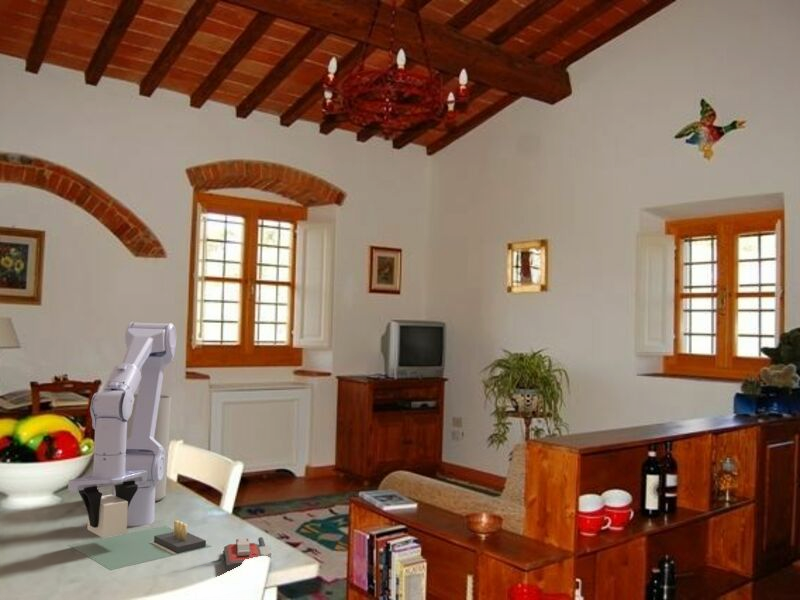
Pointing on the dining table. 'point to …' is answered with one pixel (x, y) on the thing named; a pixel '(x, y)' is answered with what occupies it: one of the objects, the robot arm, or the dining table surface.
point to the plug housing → (111, 517)
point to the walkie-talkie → (243, 552)
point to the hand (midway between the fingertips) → (107, 523)
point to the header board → (141, 546)
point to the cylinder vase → (157, 437)
